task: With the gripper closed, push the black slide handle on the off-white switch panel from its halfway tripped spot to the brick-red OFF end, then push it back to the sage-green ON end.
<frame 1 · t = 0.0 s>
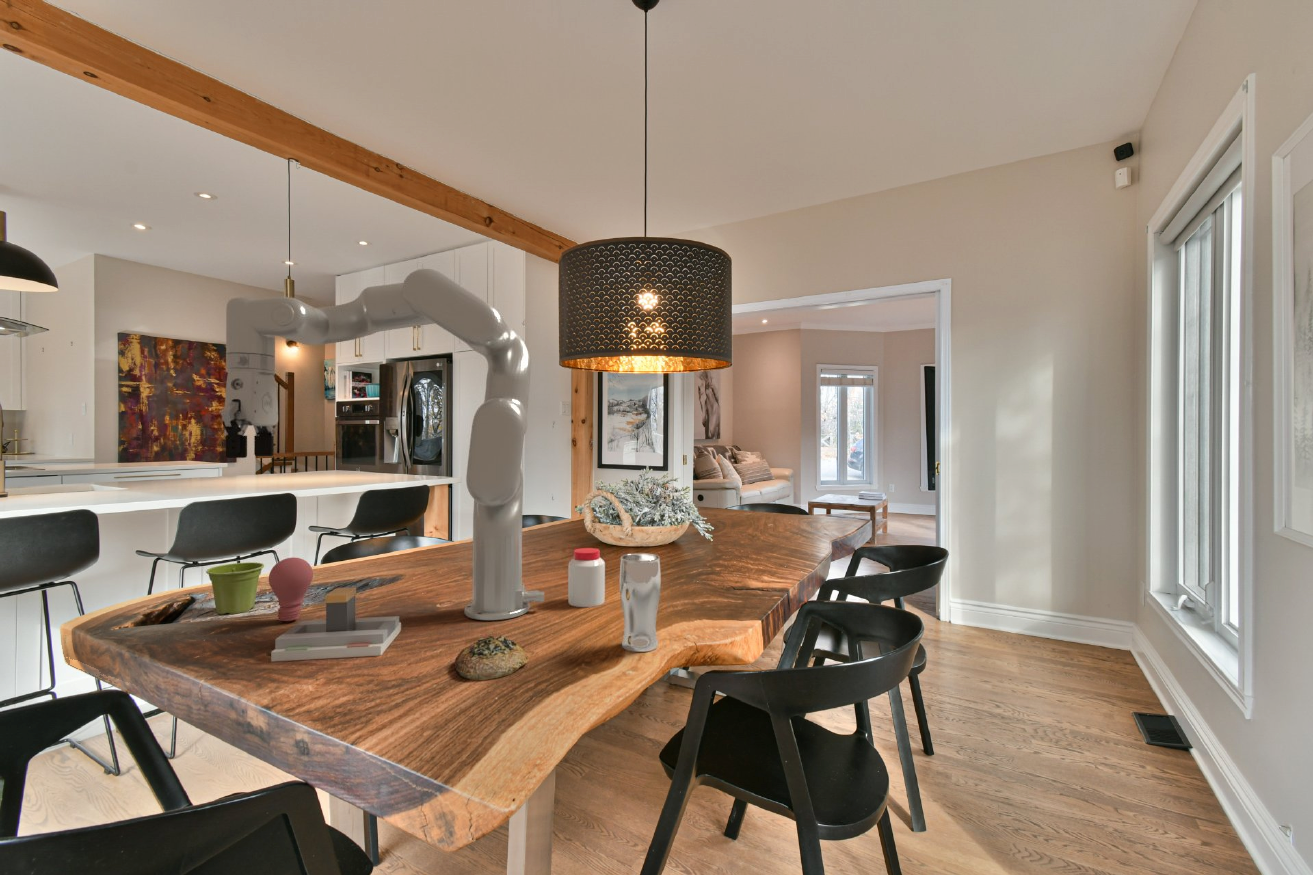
hand: (250, 456, 108), 31 cm above the table, tool pointing down, fingers open, 9 cm apart
bread roll: (491, 668, 88), on the table
pill bottle: (586, 602, 123), on the table
breaker handle: (341, 612, 97), point 5 cm above the table, slide at 0.0 cm
switch panel: (341, 644, 97), on the table
light bulb: (291, 621, 109), on the table
beer glass: (639, 646, 97), on the table
plant pot: (235, 611, 116), on the table
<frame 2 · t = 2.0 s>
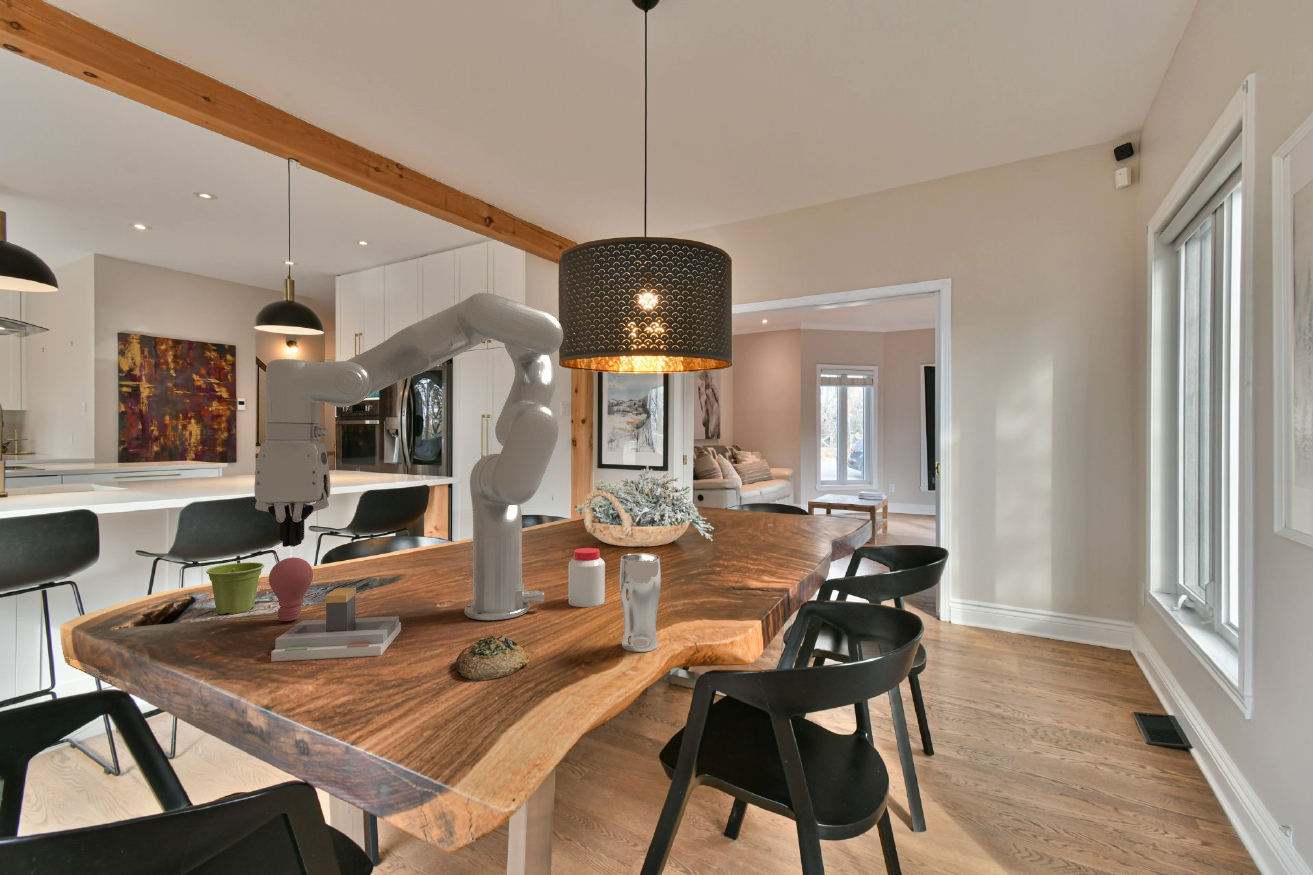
hand: (292, 544, 96), 17 cm above the table, tool pointing down, fingers closed
nothing on the table moved.
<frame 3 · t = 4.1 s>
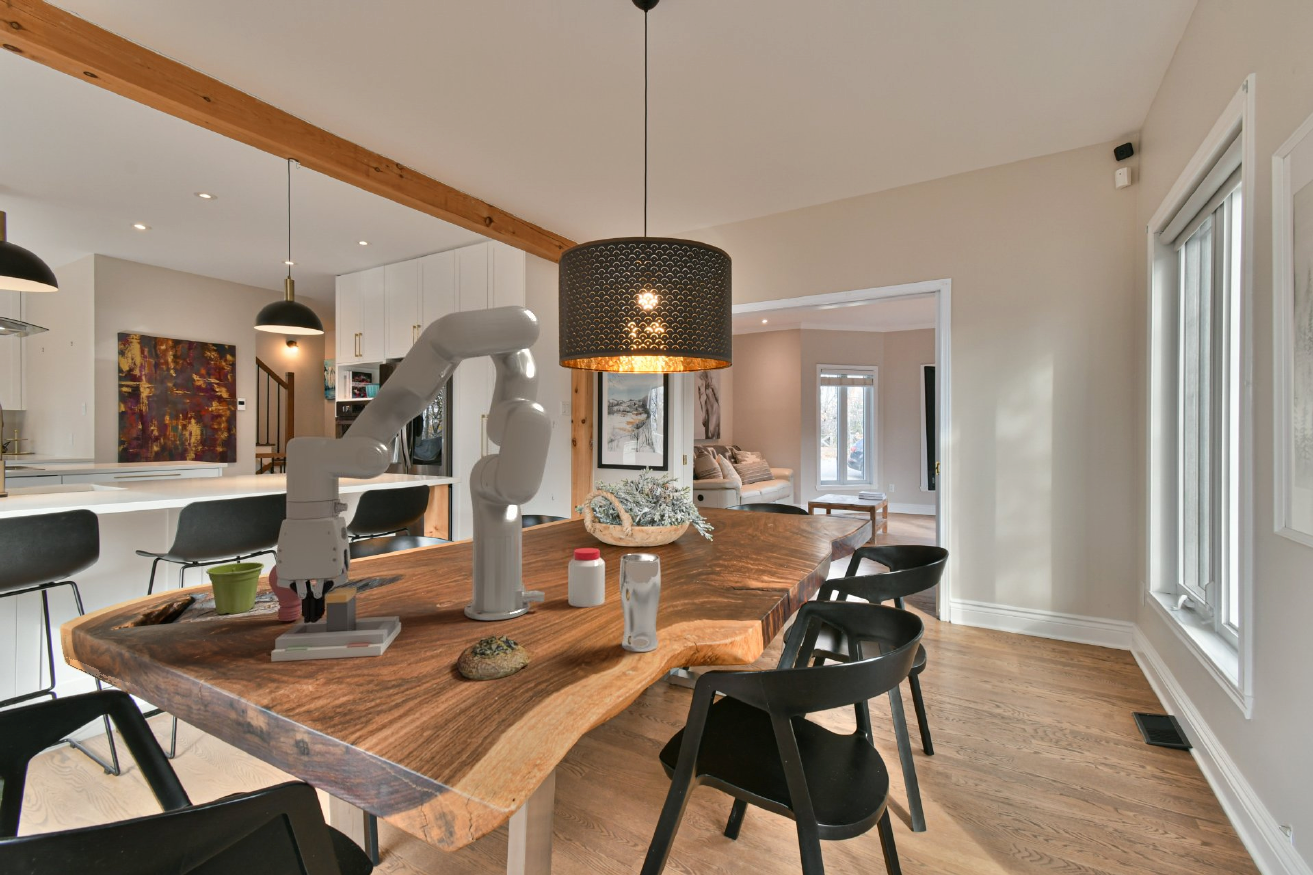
hand: (313, 620, 96), 4 cm above the table, tool pointing down, fingers closed
breaker handle: (341, 612, 97), point 5 cm above the table, slide at -0.1 cm, touching gripper
everything else where it was.
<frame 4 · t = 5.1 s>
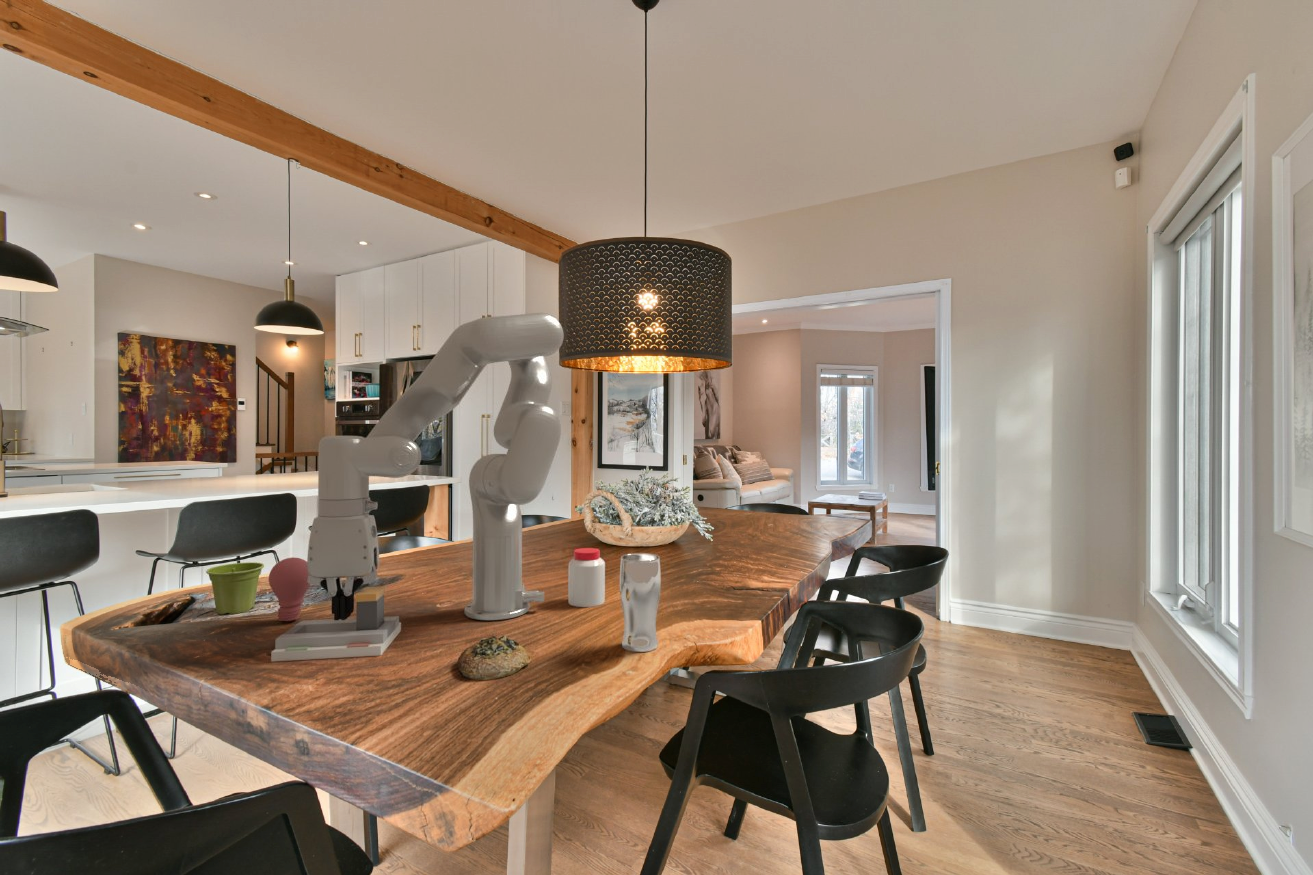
hand: (342, 617, 97), 5 cm above the table, tool pointing down, fingers closed
breaker handle: (370, 611, 98), point 5 cm above the table, slide at -4.6 cm, touching gripper
everything else where it was.
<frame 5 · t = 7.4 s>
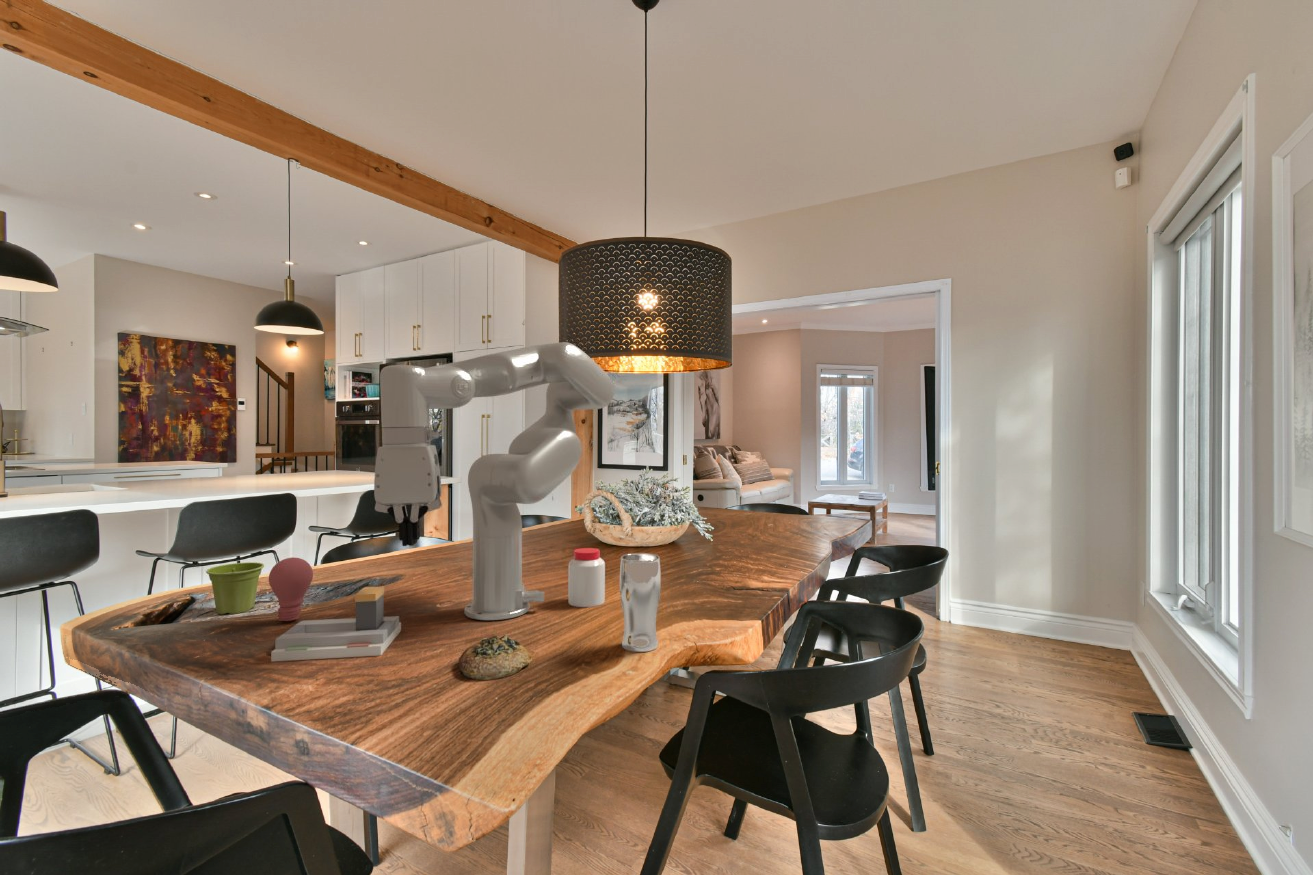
hand: (409, 544, 99), 17 cm above the table, tool pointing down, fingers closed
breaker handle: (369, 611, 98), point 5 cm above the table, slide at -4.5 cm
everything else where it was.
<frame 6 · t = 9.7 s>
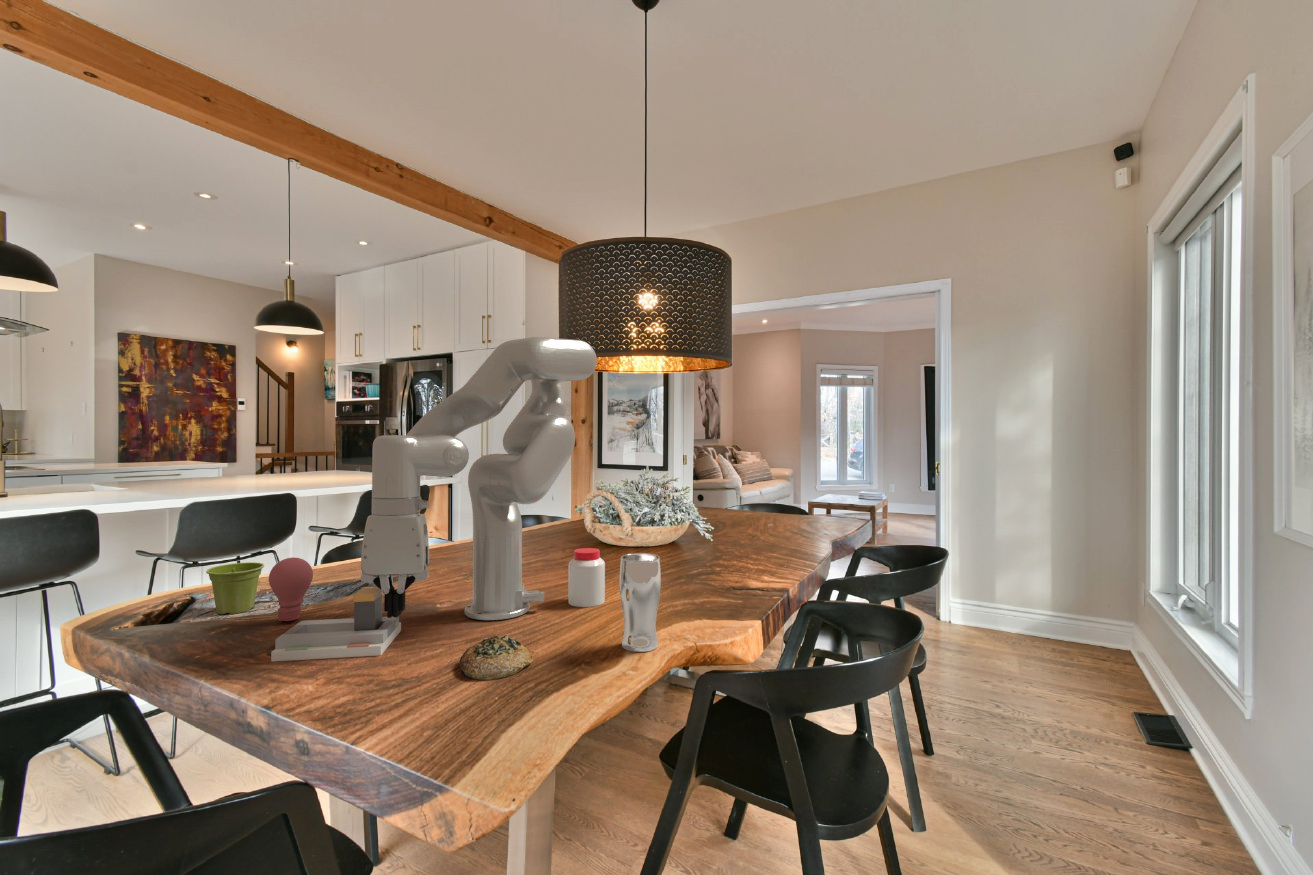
hand: (394, 615, 98), 5 cm above the table, tool pointing down, fingers closed
breaker handle: (368, 611, 98), point 5 cm above the table, slide at -4.3 cm, touching gripper
everything else where it was.
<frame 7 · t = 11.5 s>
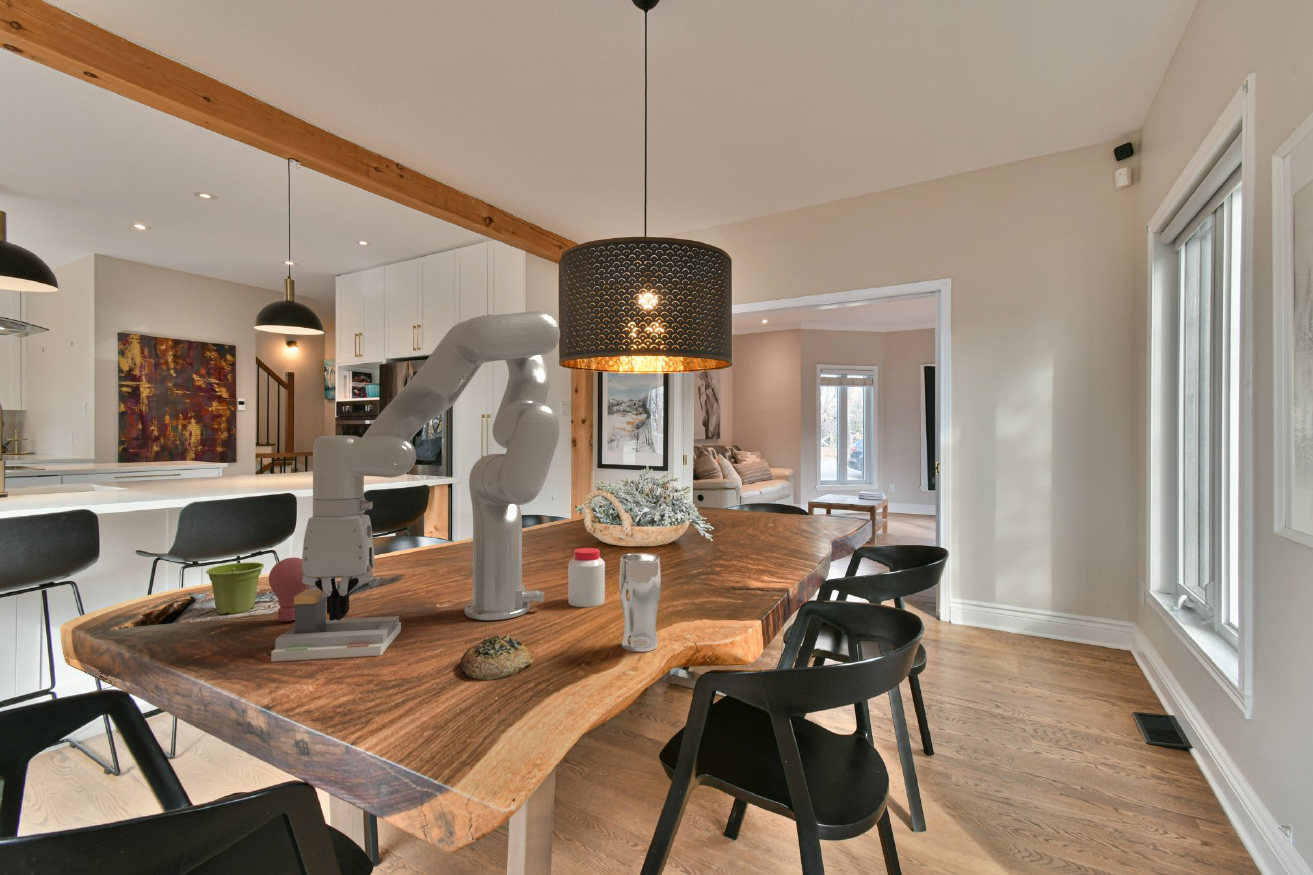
hand: (338, 617, 97), 5 cm above the table, tool pointing down, fingers closed
breaker handle: (310, 614, 96), point 5 cm above the table, slide at 4.7 cm, touching gripper
everything else where it was.
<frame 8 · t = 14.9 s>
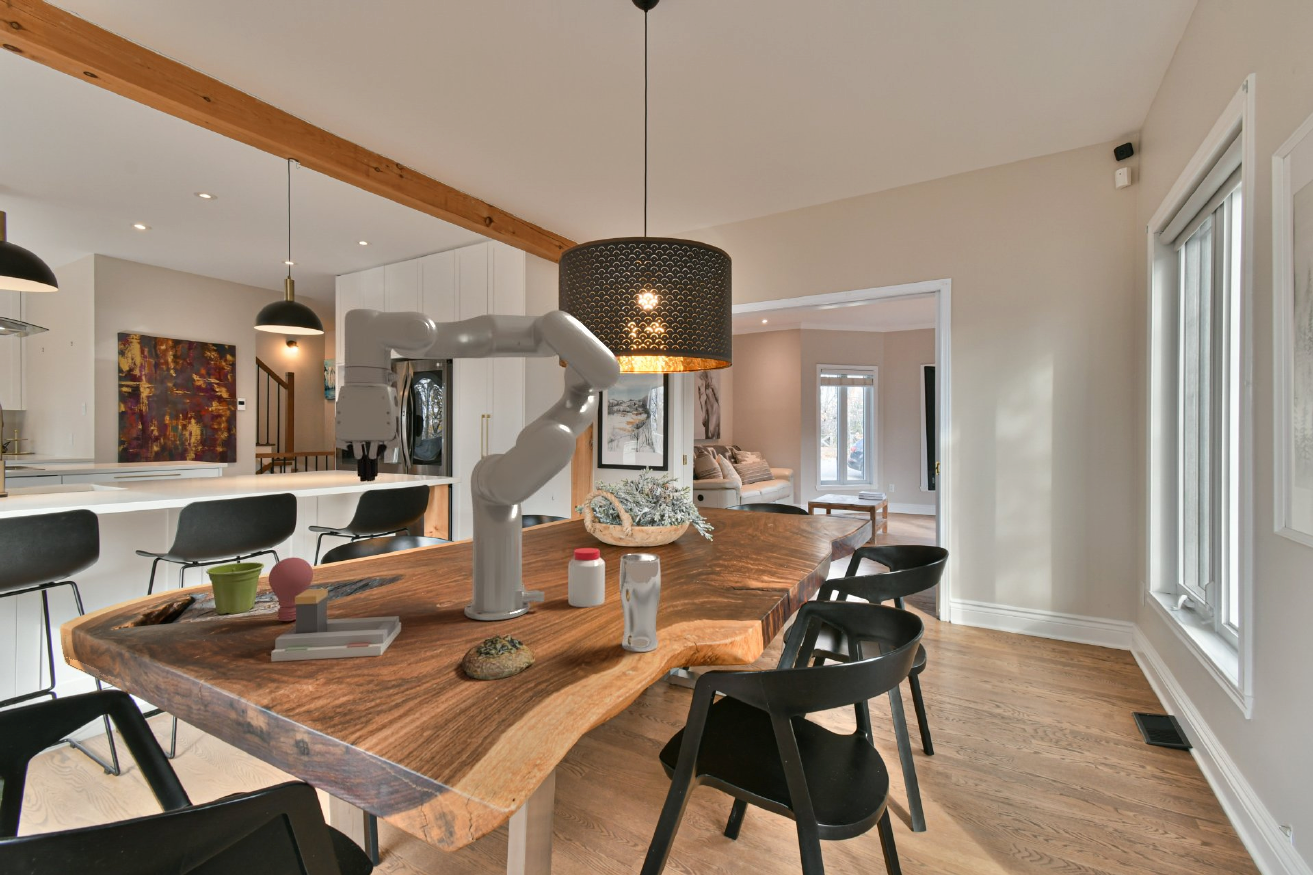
hand: (367, 480, 104), 27 cm above the table, tool pointing down, fingers closed
breaker handle: (311, 614, 96), point 5 cm above the table, slide at 4.5 cm
at the end: breaker handle slide at 4.5 cm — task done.
